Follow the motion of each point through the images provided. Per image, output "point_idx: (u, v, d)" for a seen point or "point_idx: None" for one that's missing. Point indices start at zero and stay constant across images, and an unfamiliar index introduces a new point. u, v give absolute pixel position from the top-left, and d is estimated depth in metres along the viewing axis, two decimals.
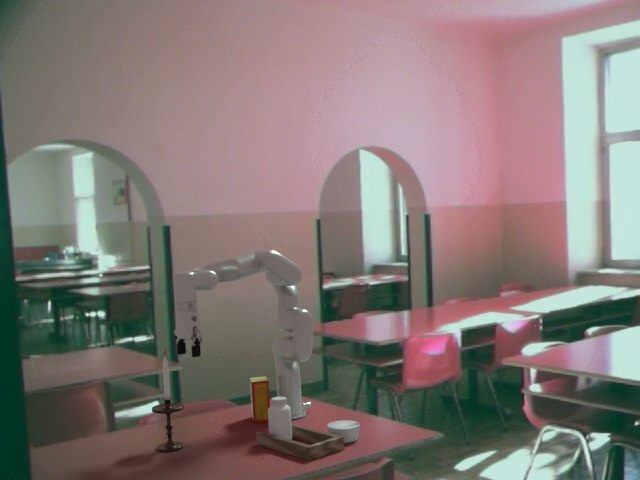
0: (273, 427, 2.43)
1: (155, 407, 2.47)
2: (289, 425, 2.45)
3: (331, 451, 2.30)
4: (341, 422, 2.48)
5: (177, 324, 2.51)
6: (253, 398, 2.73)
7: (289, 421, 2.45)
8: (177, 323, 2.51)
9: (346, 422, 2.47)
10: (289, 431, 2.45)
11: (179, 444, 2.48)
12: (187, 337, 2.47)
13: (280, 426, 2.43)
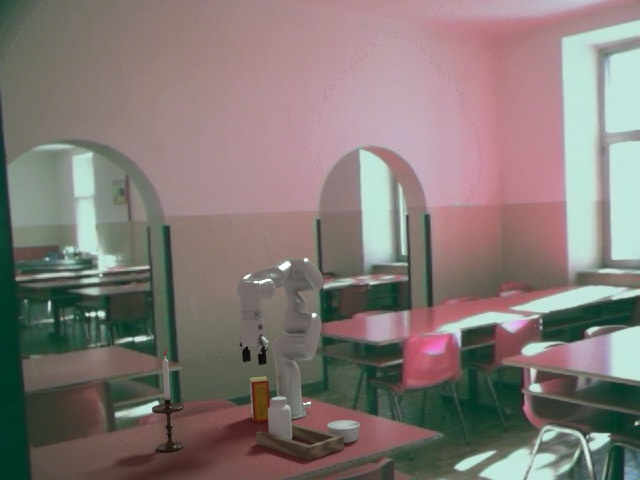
0: (273, 427, 2.43)
1: (155, 407, 2.47)
2: (289, 425, 2.45)
3: (331, 451, 2.30)
4: (341, 422, 2.48)
5: (243, 332, 2.55)
6: (253, 398, 2.73)
7: (289, 421, 2.45)
8: (243, 331, 2.55)
9: (346, 422, 2.47)
10: (289, 431, 2.45)
11: (179, 444, 2.48)
12: (253, 345, 2.51)
13: (280, 426, 2.43)
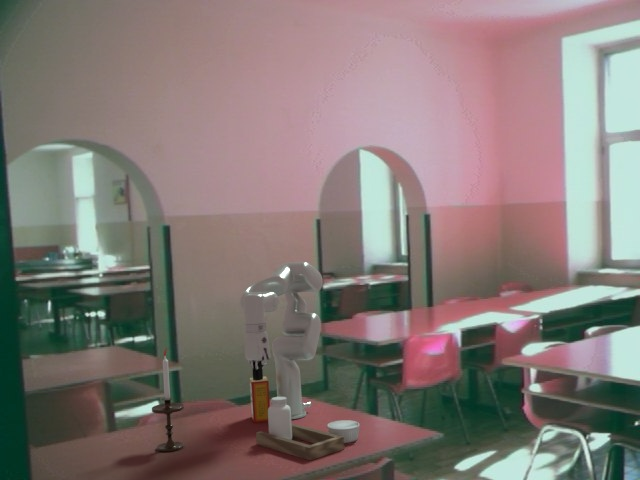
0: (273, 427, 2.43)
1: (155, 407, 2.47)
2: (289, 425, 2.45)
3: (331, 451, 2.30)
4: (341, 422, 2.48)
5: (246, 345, 2.55)
6: (253, 398, 2.73)
7: (289, 421, 2.45)
8: (246, 344, 2.55)
9: (346, 422, 2.48)
10: (289, 431, 2.45)
11: (179, 444, 2.48)
12: (257, 358, 2.51)
13: (280, 426, 2.43)
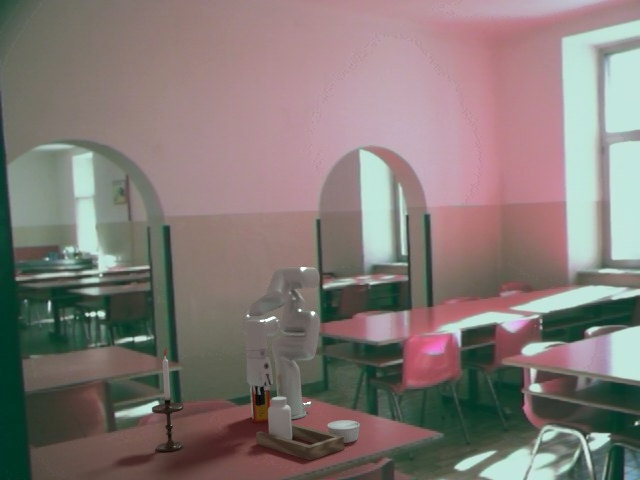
0: (273, 427, 2.43)
1: (155, 407, 2.47)
2: (289, 425, 2.45)
3: (331, 451, 2.30)
4: (341, 422, 2.48)
5: (248, 371, 2.55)
6: (253, 398, 2.73)
7: (289, 421, 2.45)
8: (248, 370, 2.55)
9: (346, 422, 2.47)
10: (289, 431, 2.45)
11: (179, 444, 2.48)
12: (259, 384, 2.51)
13: (280, 426, 2.43)
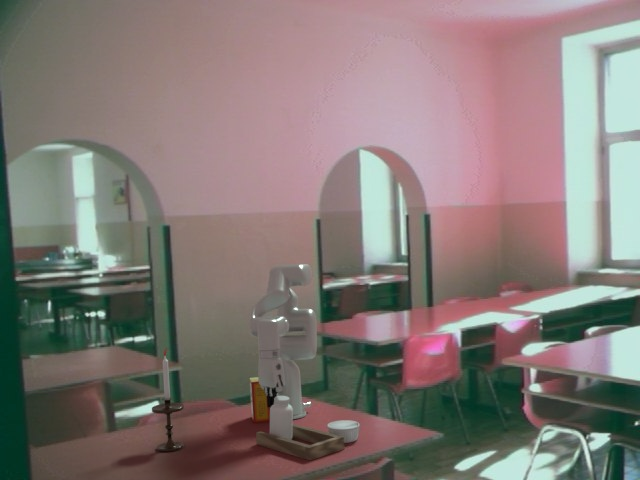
0: (274, 427, 2.43)
1: (155, 407, 2.47)
2: (290, 425, 2.44)
3: (331, 451, 2.30)
4: (341, 422, 2.48)
5: (260, 371, 2.49)
6: (253, 398, 2.73)
7: (290, 422, 2.44)
8: (260, 370, 2.49)
9: (346, 422, 2.47)
10: (290, 431, 2.44)
11: (179, 444, 2.48)
12: (271, 385, 2.45)
13: (281, 426, 2.42)
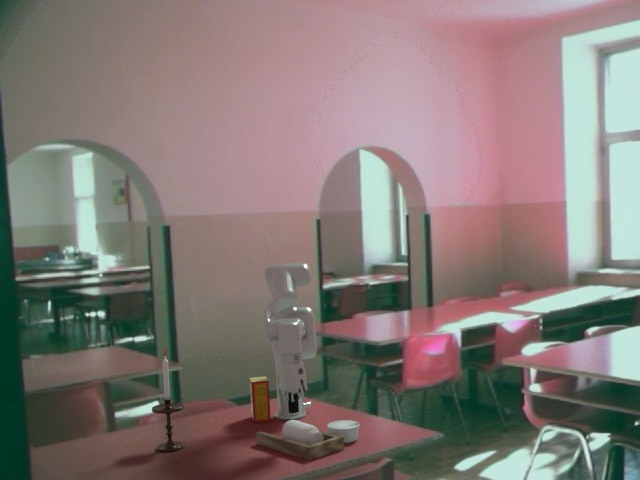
0: (290, 436, 2.38)
1: (155, 407, 2.47)
2: None
3: (331, 451, 2.30)
4: (341, 422, 2.48)
5: (281, 376, 2.41)
6: (253, 398, 2.73)
7: None
8: (281, 375, 2.41)
9: (346, 422, 2.48)
10: None
11: (179, 444, 2.48)
12: (293, 391, 2.37)
13: None
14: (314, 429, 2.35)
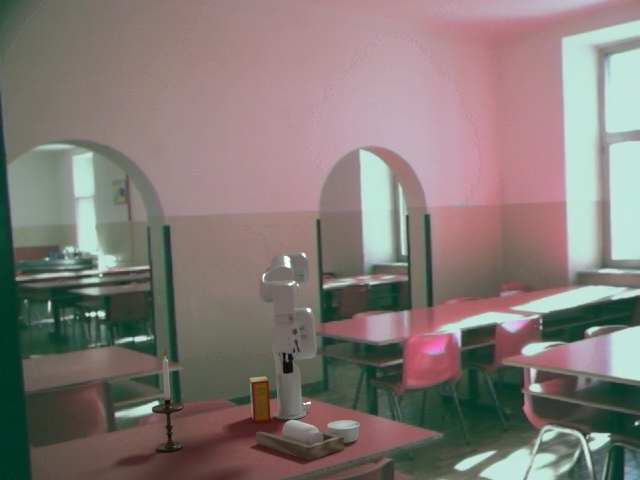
0: (290, 436, 2.38)
1: (155, 407, 2.47)
2: None
3: (331, 451, 2.30)
4: (341, 422, 2.48)
5: (275, 337, 2.42)
6: (253, 398, 2.73)
7: None
8: (275, 336, 2.42)
9: (346, 422, 2.48)
10: None
11: (179, 444, 2.48)
12: (288, 351, 2.38)
13: None
14: (314, 429, 2.35)
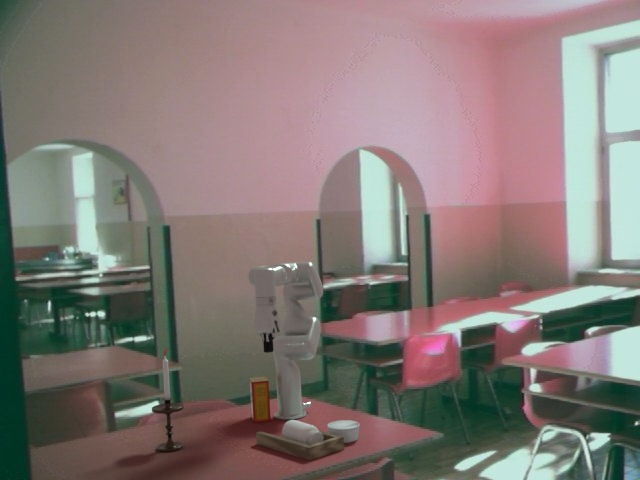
0: (290, 436, 2.38)
1: (155, 407, 2.47)
2: None
3: (331, 451, 2.30)
4: (341, 422, 2.48)
5: (257, 318, 2.60)
6: (253, 398, 2.73)
7: None
8: (257, 317, 2.60)
9: (346, 422, 2.47)
10: None
11: (179, 444, 2.48)
12: (268, 331, 2.56)
13: None
14: (314, 429, 2.35)
